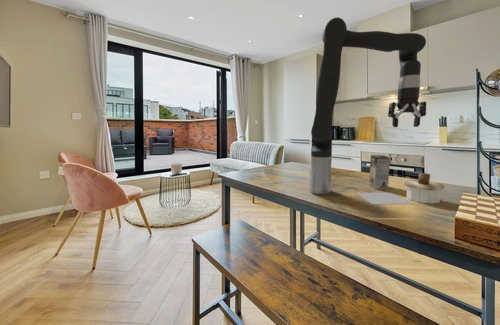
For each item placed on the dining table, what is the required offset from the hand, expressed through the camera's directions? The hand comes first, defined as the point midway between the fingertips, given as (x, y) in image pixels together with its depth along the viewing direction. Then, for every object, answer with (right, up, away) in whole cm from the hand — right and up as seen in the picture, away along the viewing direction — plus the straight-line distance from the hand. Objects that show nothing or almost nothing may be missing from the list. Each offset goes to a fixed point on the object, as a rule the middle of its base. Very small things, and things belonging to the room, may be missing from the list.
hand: (405, 127), depth 99 cm
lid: (+4, -25, -5) cm, 26 cm away
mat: (-11, -31, -1) cm, 33 cm away
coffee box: (-3, -28, +17) cm, 33 cm away
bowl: (+4, -31, -4) cm, 31 cm away
